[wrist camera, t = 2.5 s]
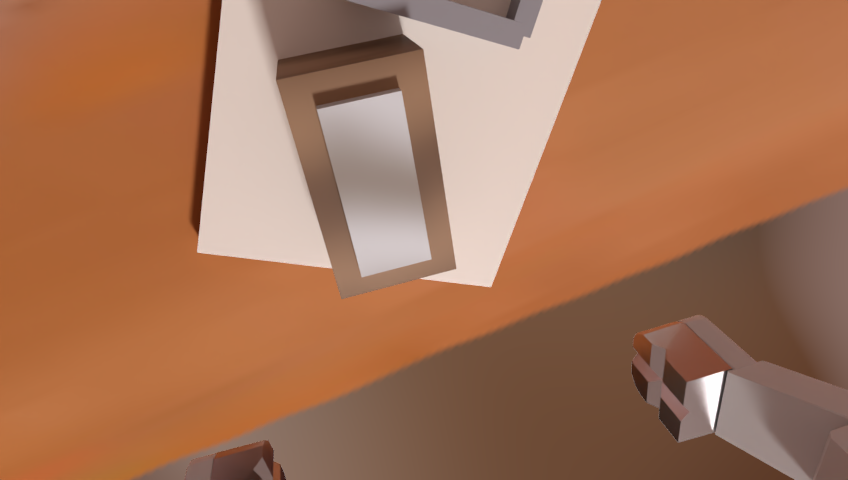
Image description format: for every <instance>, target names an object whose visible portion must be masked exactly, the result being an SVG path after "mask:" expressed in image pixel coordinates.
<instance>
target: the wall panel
mask: <svg viewBox="0 0 848 480" xmlns="http://www.w3.org/2000/svg"><path fill="white" fill-rule="evenodd" d="M600 3H601V0H222V8H221V18H220V28H219V38H218V48H217V58H216V68H215V78H214V88H213V98H212V108H211V118H210V128H209V138H208V148H207V158H206V168H205V179H204V189H203V199H202V209H201V219H200V229H199V239H198V249H197V253H206V254H214V255H223V256H231V257H240V258H248V259H257V260H265V261H274V262H282V263H291V264H299V265H307V266H316V267H324V268H332V266H331V262H330V259H329V256H328V252H327V249H326V246H325V242H324V239H323V236H322V232H321V229H320V226H319V222H318V219H317V216H316V212H315V209H314V206H313V202H312V199H311V196H310V192H309V189H308V186H307V182H306V179H305V176H304V172H303V169H302V166H301V162H300V159H299V156H298V152H297V149H296V146H295V142H294V139H293V136H292V132H291V129H290V126H289V122H288V119H287V116H286V112H285V109H284V106H283V102H282V99H281V96H280V92H279V89H278V86H277V82H276V74H277V63H278V60H280V59H284V58H289V57H294V56H299V55H304V54H308V53H313V52H318V51H323V50H328V49H333V48H337V47H342V46H347V45H352V44H357V43H362V42H366V41H371V40H376V39H381V38H386V37H390V36H395V35H400V34H404V35H405V36H407V37H408V38H409V39H411V40H412V41H413V42H415V43H416V44H417V45H419V46H420V47H421V48H423V50H424V57H425V63H426V70H427V77H428V83H429V90H430V96H431V103H432V110H433V116H434V123H435V130H436V136H437V143H438V150H439V156H440V163H441V169H442V176H443V183H444V189H445V196H446V203H447V209H448V216H449V223H450V229H451V236H452V242H453V249H454V256H455V262H456V269H454V270H450V271H447V272H443V273H439V274H435V275H431V276H428V277H424V278H420V279H426V280H435V281H443V282H452V283H460V284H469V285H477V286H486V287H491V286H492V283H493V281H494V278H495V275H496V273H497V270H498V268H499V265H500V262H501V260H502V257H503V255H504V252H505V249H506V247H507V244H508V242H509V239H510V236H511V234H512V231H513V229H514V226H515V223H516V221H517V218H518V216H519V213H520V210H521V208H522V205H523V203H524V200H525V197H526V195H527V192H528V190H529V187H530V184H531V182H532V179H533V177H534V174H535V171H536V169H537V166H538V164H539V161H540V158H541V156H542V153H543V151H544V148H545V146H546V143H547V140H548V138H549V135H550V133H551V130H552V127H553V125H554V122H555V120H556V117H557V114H558V112H559V109H560V107H561V104H562V101H563V99H564V96H565V94H566V91H567V88H568V86H569V83H570V81H571V78H572V75H573V73H574V70H575V68H576V65H577V62H578V60H579V57H580V55H581V52H582V49H583V47H584V44H585V42H586V39H587V36H588V34H589V31H590V29H591V26H592V23H593V21H594V18H595V16H596V13H597V10H598V8H599V5H600Z"/></svg>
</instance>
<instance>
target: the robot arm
mask: <svg viewBox="0 0 848 480" xmlns="http://www.w3.org/2000/svg"><path fill="white" fill-rule="evenodd" d="M633 348H634V349H635V350H636V351H637V352H638V354H637V355H636V356H635V358H634V359H633V361H632V376H633V380H634V383H635V386H636V387H637V389H638V391H639V393H640V395H641V396H642V397H643V399H644V400H645V401H646V402H647V403H649V404H651V405H653V406H655V407H658V408H659V419H660V420H661V422H662V423H663V424H664V425H665V427H666V428H667V429H668V431H669V432H670V433H671V434H672V436H673V437H674V438H675V439H676V441H677V442H682V441H685V440H689V439H692V438H696V437H699V436H703V435H707V434H710V433H714V432H715V434H716V435H717V436H719V437H721V438H723V439H725V440H726V441H728V442H730V443H731V444H733V445H735V446H737V447H739V448H740V449H742V450H744V451H746V452H747V453H749V454H751V455H753V456H755V457H756V458H758V459H760V460H761V461H763V462H765V463H767V464H768V465H770V466H772V467H774V468H775V469H777V470H779V471H781V472H782V473H784V474H786V475H788V476H790V477H791V478H793V479H795V480H848V390H845V389H843V388H840V387H837V386H834V385H831V384H829V383H825V382H823V381H820V380H817V379H814V378H811V377H808V376H806V375H803V374H800V373H797V372H794V371H791V370H788V369H786V368H783V367H780V366H777V365H774V364H771V363H768V362H766V361H760V362H756V361H755V360H753V359H752V358H751V357H750V356H749V355H748V354H747V353H746V352H745V351H743V350H742V349H741V348H740V347H739V346H738V345H737V344H735V343H734V342H733V341H732V340H731V339H730V338H729V337H728V336H726V335H725V334H724V333H723V332H722V331H721V330H720V329H718V328H717V327H716V326H715V325H714V324H713V323H712V322H710V321H709V320H708V319H707V318H706V317H704V316H701V315H697V316H693V317H690V318H686V319H683V320H680V321H678V322H672V323H669V324H666V325H662V326H659V327H656V328H652V329H649V330H646V331H642V332H639V333H637V334H636V335H635V336H634V338H633ZM273 459H274V450H273V448H272V446H271V444H270V442H269V441H268V440H264V441H260V442H256V443H252V444H249V445H245V446H241V447H237V448H233V449H230V450H226V451H222V452H218V453H215V454H212V455H208V456H204V457H200V458H196V459H193V460H191V462H190V464H189V466H188V467H187V471H186V476H185V480H286V477H285V474H284V471H283V469H282V467H281V465H280V464H278V463H276V462H274V460H273Z"/></svg>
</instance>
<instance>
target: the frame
mask: <svg viewBox="0 0 848 480" xmlns="http://www.w3.org/2000/svg"><path fill="white" fill-rule="evenodd" d="M276 82H277V86H278V89H279V92H280V96H281V99H282V102H283V106H284V109H285V112H286V116H287V119H288V122H289V126H290V129H291V132H292V136H293V139H294V142H295V146H296V149H297V152H298V156H299V159H300V162H301V166H302V169H303V172H304V176H305V179H306V182H307V186H308V189H309V192H310V196H311V199H312V202H313V206H314V209H315V212H316V216H317V219H318V222H319V226H320V229H321V232H322V236H323V239H324V242H325V246H326V249H327V252H328V256H329V259H330V262H331V266H332V269H333V272H334V276H335V279H336V282H337V286H338V289H339V292H340V296H341V299H344V298H348V297H352V296H355V295H359V294H363V293H367V292H371V291H374V290H378V289H382V288H386V287H390V286H393V285H397V284H401V283H405V282H409V281H412V280H416V279H420V278H424V277H428V276H431V275H435V274H439V273H443V272H447V271H450V270H454V269H456V262H455V256H454V249H453V242H452V236H451V229H450V223H449V216H448V209H447V203H446V196H445V189H444V183H443V176H442V169H441V163H440V156H439V150H438V143H437V136H436V130H435V123H434V116H433V110H432V103H431V96H430V90H429V83H428V77H427V70H426V63H425V57H424V50H423V48H421V47H420V46H419V45H417V44H416V43H415V42H413V41H412V40H411V39H409V38H408V37H407V36H405V35H404V34H400V35H395V36H390V37H386V38H381V39H376V40H371V41H366V42H362V43H357V44H352V45H347V46H342V47H337V48H333V49H328V50H323V51H318V52H313V53H308V54H304V55H299V56H294V57H289V58H284V59H280V60H278V63H277V74H276Z"/></svg>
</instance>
